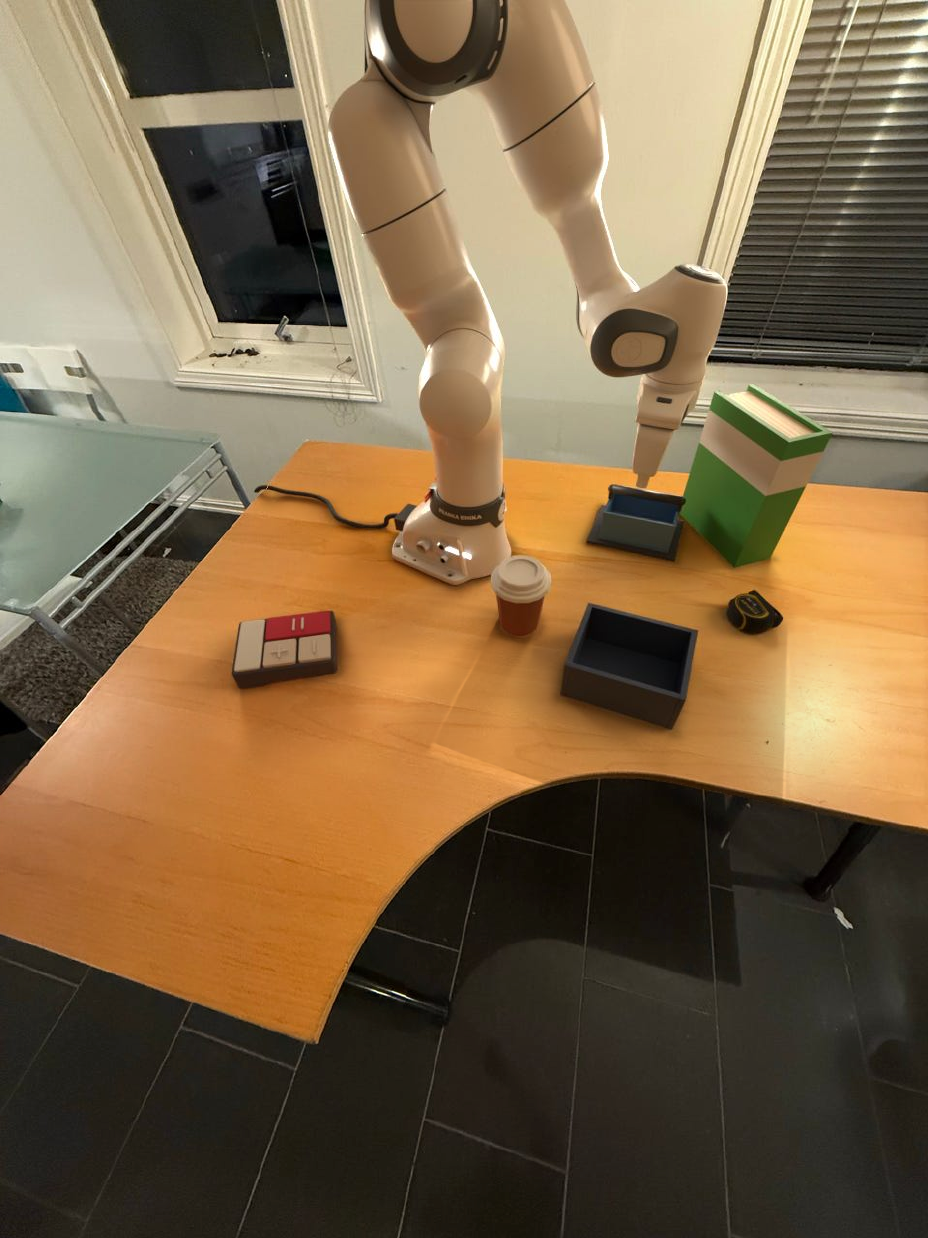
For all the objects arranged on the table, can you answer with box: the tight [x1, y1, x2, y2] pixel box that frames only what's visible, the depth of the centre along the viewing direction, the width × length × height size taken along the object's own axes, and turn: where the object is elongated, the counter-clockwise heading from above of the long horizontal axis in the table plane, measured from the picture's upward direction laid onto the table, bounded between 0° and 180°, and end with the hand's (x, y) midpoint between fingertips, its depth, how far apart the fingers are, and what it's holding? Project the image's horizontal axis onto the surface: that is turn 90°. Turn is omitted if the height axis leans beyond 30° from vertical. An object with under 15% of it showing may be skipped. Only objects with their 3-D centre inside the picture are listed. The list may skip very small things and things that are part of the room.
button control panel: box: [231, 610, 338, 690], centre depth 83 cm, size 11×4×15 cm
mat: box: [586, 504, 685, 563], centre depth 100 cm, size 16×12×1 cm
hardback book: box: [679, 383, 834, 569], centre depth 90 cm, size 18×7×24 cm, turn 17°
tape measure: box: [725, 589, 784, 635], centre depth 82 cm, size 7×7×4 cm
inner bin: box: [599, 483, 686, 553], centre depth 96 cm, size 14×10×9 cm
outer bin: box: [559, 602, 699, 731], centre depth 75 cm, size 16×13×8 cm
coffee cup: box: [490, 554, 552, 638], centre depth 81 cm, size 9×9×12 cm
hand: (646, 471), depth 90 cm, fingers open, 8 cm apart
